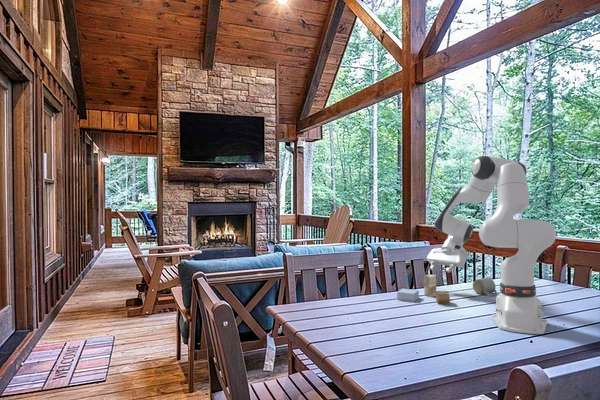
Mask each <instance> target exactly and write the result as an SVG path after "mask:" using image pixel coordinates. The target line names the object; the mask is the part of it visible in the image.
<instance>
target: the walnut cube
mask: <svg viewBox="0 0 600 400" xmlns="http://www.w3.org/2000/svg"><path fill="white" fill-rule="evenodd" d="M450 297H451V295H450V293H449V291H448V290H436V296H435V298H436V303H437V305H444V306H445V305H450V304H451V303H450V302H451V301H450V300H451V298H450Z"/></svg>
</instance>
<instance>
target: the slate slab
mask: <svg viewBox="0 0 600 400" xmlns="http://www.w3.org/2000/svg"><path fill="white" fill-rule="evenodd" d="M419 291H420V290H419V289H412V288H411V289H410V288H401V289H399V290H398V291H396V299H397V301H405V302H412V303H413V302H416V301H417V300H418V299H420V296H419V294H420V293H419Z"/></svg>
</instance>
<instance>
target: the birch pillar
mask: <svg viewBox="0 0 600 400" xmlns="http://www.w3.org/2000/svg"><path fill="white" fill-rule="evenodd" d="M423 285H424V287H423V288H424V290H423V291H424V296H426V297H428V298H429V297H430V298H432V297H433V298H434V297H436V291H437V275H435V274H431V273H430V274H425V275H424V276H423Z"/></svg>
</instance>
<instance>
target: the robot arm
mask: <svg viewBox="0 0 600 400" xmlns="http://www.w3.org/2000/svg"><path fill="white" fill-rule="evenodd" d="M471 173H472V174H471V176H470V178H469V181H468V183H467V184H466V185H465V186H464V187H460V188H458V189H457V190H456V191H455V193H454V194H453V195H452V196H451V198H450V199H449V201H448V203H447V204H446V205H445V207H444V208H443V210H442V211H441V212H440V213H439V214H438V215H437V216H436V218H435V219H434V220H435V221H434V223H433V225H434V228H435V230H436V231H437V232H441V233H444V234H447V238H446V239H445V240H444V242H443V244H442V245H441V248H440V247H435V248H433V249H432V250H431V251H430V252H429V253H428V254H427V256H426V260H427V262H428V263H429V264H430V266H429V269H430V270H431V271H434V270H435V269H436V267H435V265H442V266H449V267H446V269H445V272H446V273H451V272H452V271H453V270H454V269H455V268H463V267H464V266H465V264H466V262H467V258H468V256H469V253H468V251H467V250H466V249H465V248H464V247H463V246H464V244H465V243H467V242H469V240H470V238H471V236H472V235H473V233H474V227H473V226H472V224H471V223H470V222H467V221H465V220H463V219H460V218H458V217H455V216H453V215H452V214H451V213H452V212H453V211H454V209H455V207H456V206H457V205H458V204H461V203H462V204H463V203H465V204H480V203H484V202H486V201H487V200H488V199H489V197H490V196H491V194H492V192H493V191H494V189H495V186H496V198H497V199H496V208H495V210H494V212H493V214H492V215H491V216H490V217H489V218H488V219H487V220H485V221H484V222H483V223H482V224H481V225H480V227H479V230H478V236H479V239H480V241H481V242H482V244H483V245H484V246H487V247H488V246H489V247H492V248H499V249H500V248H502V249H503V248H505V249H506V248H507V249H510V248H511V249H518V251H517V252H516V254H514V255H511V256H509V257H507V258H505V259H504V260H503V261H502V262H501V264H500V282H499V292H500V293H499V294H497V295H496V296H495V307H496V308H495V312H496V313H493V314H491V315H490V318H491V319H492V321H493V322H494V323H495V325H496V326H497V328H498V329H500V330H504V331H507V332H514V333H519V334H521V333H522V334H530V335H533V334H534V335H544V334H545V332H546V330H547V326H548V320H547V319H544V317H545V312H544V310H542V309H543V305H541V300H540V298H538V296H536V295H537V287H536V284H535V267H536V263H537V260H538V258H539V257H540V255H541V254H542V253H543V252H544V251H545V250H546V249H548V248H550V247H551V246H553V244H554V243H555V241H556V237H557V232H556V229H555V227H554V226H553V224H552V223H551V222H549V221H545V220H542V219H541V220H540V219H516V218H513V217H514V216H516V215H518V214H520V213H523V212H524V211H525V210H526V211H527V209H528V207H529V206H530V197H529V196H530V195H529V184H528V179H527V167H526V165H525V164H524V163H522V162H520V161H517V160H511V159H506V158H503V157H500V156H498V157H497V156H488V155H481V156H478V157H477V158H475V160H473V163H472V165H471Z"/></svg>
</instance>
